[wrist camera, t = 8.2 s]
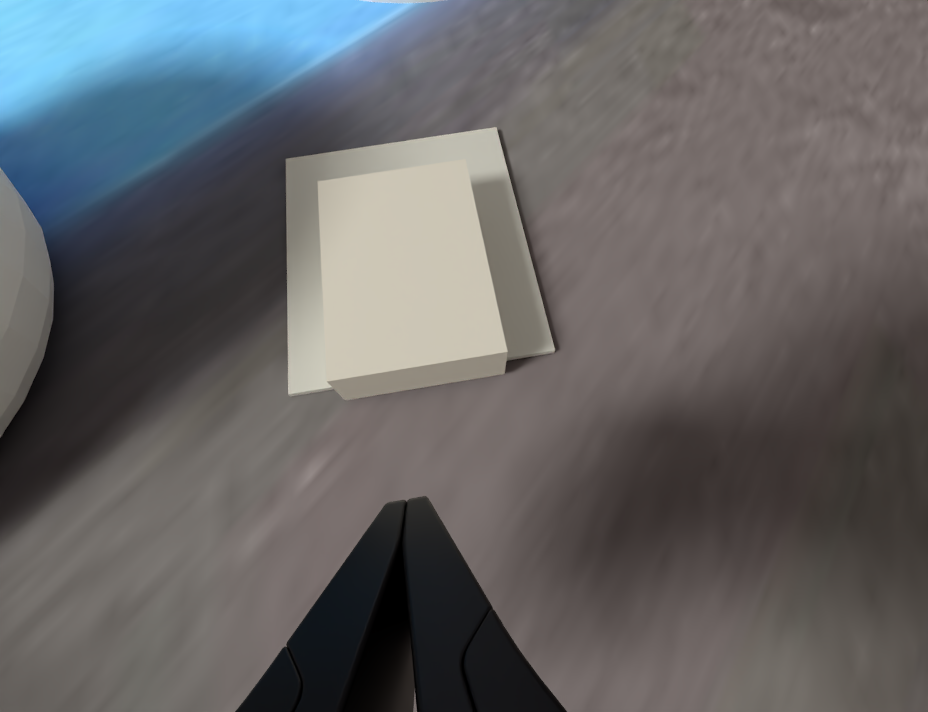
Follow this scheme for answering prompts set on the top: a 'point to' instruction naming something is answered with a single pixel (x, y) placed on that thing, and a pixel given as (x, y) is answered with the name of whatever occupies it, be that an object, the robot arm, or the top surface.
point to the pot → (21, 299)
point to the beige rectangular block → (406, 282)
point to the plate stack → (402, 1)
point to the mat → (497, 224)
